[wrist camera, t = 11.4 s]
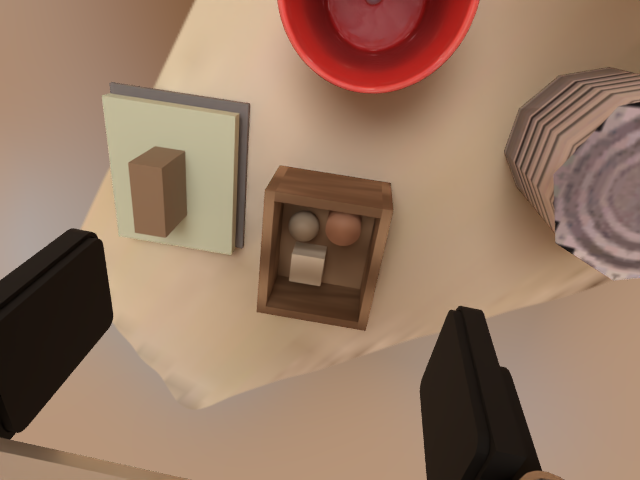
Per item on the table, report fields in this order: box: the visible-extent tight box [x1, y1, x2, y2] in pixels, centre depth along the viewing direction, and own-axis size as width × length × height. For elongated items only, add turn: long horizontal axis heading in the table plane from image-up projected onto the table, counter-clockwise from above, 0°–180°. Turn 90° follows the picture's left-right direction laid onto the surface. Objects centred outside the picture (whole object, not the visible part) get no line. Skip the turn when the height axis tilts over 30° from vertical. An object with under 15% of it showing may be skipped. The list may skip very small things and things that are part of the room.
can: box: [504, 67, 640, 280], centre depth 29 cm, size 11×11×12 cm
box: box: [257, 166, 393, 331], centre depth 38 cm, size 12×10×6 cm
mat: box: [110, 82, 250, 248], centre depth 39 cm, size 14×12×1 cm
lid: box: [102, 93, 239, 255], centre depth 36 cm, size 13×11×7 cm
